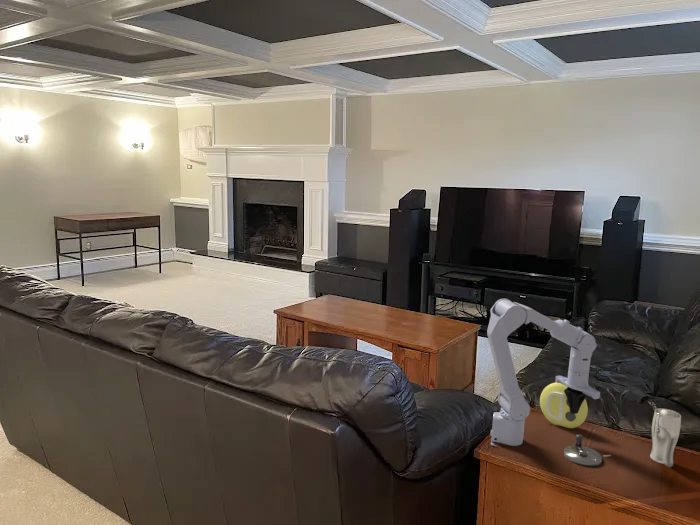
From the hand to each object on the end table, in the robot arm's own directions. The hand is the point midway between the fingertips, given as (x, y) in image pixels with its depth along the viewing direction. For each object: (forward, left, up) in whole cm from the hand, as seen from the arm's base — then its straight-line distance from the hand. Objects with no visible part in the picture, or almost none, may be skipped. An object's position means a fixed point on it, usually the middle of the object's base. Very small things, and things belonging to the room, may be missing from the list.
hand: (573, 412), depth 166 cm
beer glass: (+24, -4, -10) cm, 26 cm away
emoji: (-2, +9, -10) cm, 14 cm away
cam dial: (+2, -12, -8) cm, 15 cm away
